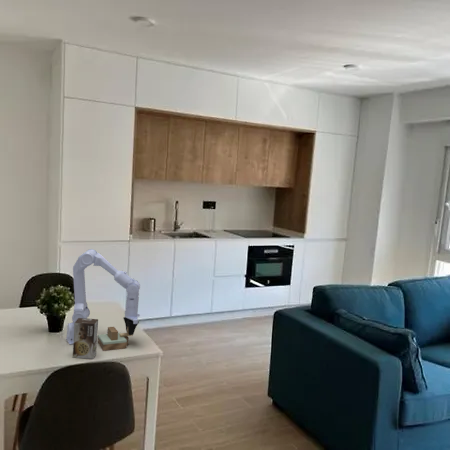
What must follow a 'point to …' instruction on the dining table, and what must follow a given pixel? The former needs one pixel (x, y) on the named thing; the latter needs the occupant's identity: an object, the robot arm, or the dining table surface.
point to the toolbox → (113, 345)
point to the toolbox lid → (111, 337)
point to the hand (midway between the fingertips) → (129, 333)
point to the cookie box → (85, 338)
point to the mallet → (124, 334)
